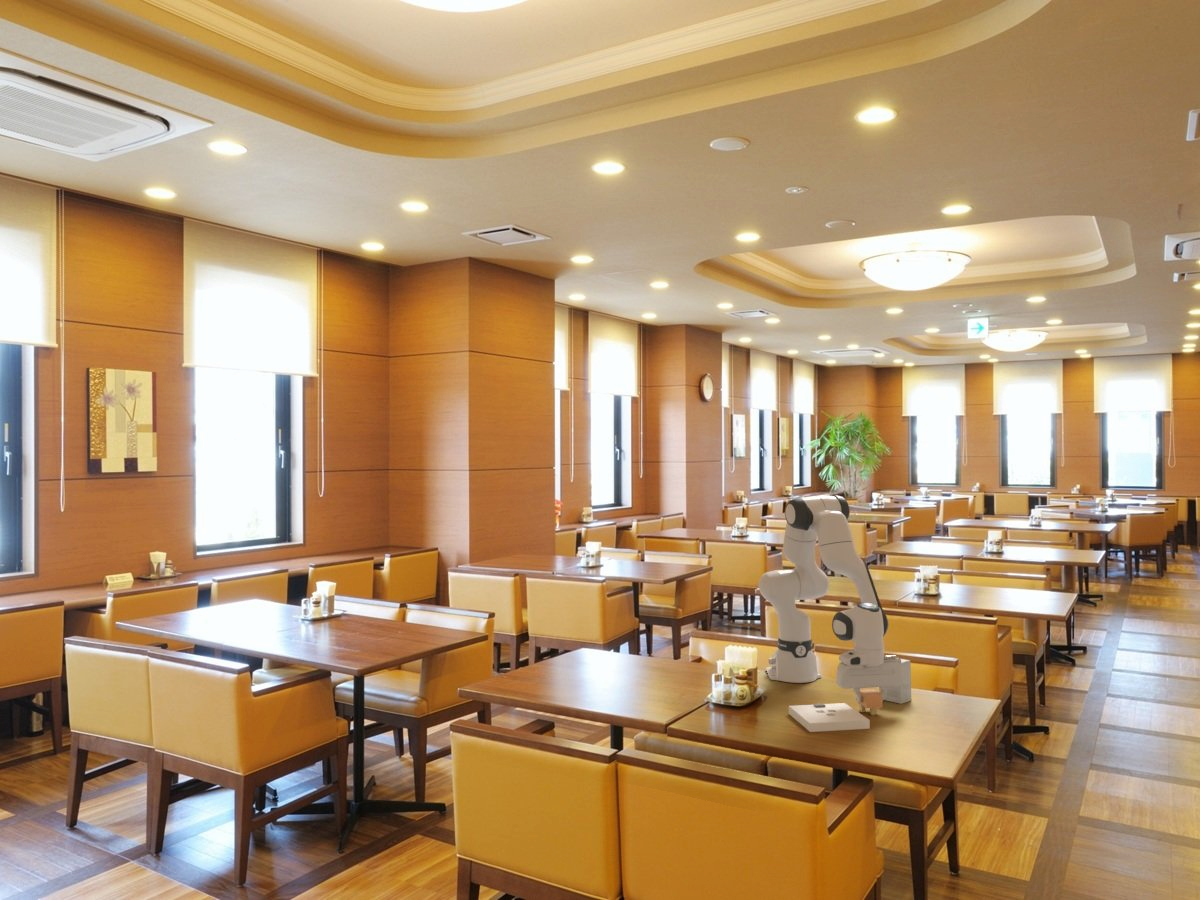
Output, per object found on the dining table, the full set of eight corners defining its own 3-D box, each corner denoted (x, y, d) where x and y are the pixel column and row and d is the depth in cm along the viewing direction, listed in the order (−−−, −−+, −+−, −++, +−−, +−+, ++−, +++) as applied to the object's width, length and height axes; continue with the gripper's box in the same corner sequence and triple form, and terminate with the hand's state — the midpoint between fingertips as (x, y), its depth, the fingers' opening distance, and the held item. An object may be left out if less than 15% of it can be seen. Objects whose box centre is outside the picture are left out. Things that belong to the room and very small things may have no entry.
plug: (858, 710, 269) (858, 689, 269) (873, 709, 270) (873, 689, 270) (866, 715, 263) (866, 695, 263) (882, 714, 264) (881, 694, 264)
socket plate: (788, 714, 266) (788, 703, 266) (844, 711, 269) (844, 701, 269) (810, 732, 249) (809, 721, 249) (869, 728, 251) (869, 717, 251)
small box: (911, 700, 279) (911, 660, 279) (901, 704, 275) (900, 663, 275) (889, 695, 285) (888, 656, 286) (878, 699, 281) (877, 659, 281)
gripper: (896, 652, 271) (897, 696, 271) (833, 655, 269) (834, 700, 268) (905, 657, 265) (906, 702, 265) (842, 660, 262) (842, 705, 262)
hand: (870, 701), depth 267 cm, fingers closed on plug, 5 cm apart
